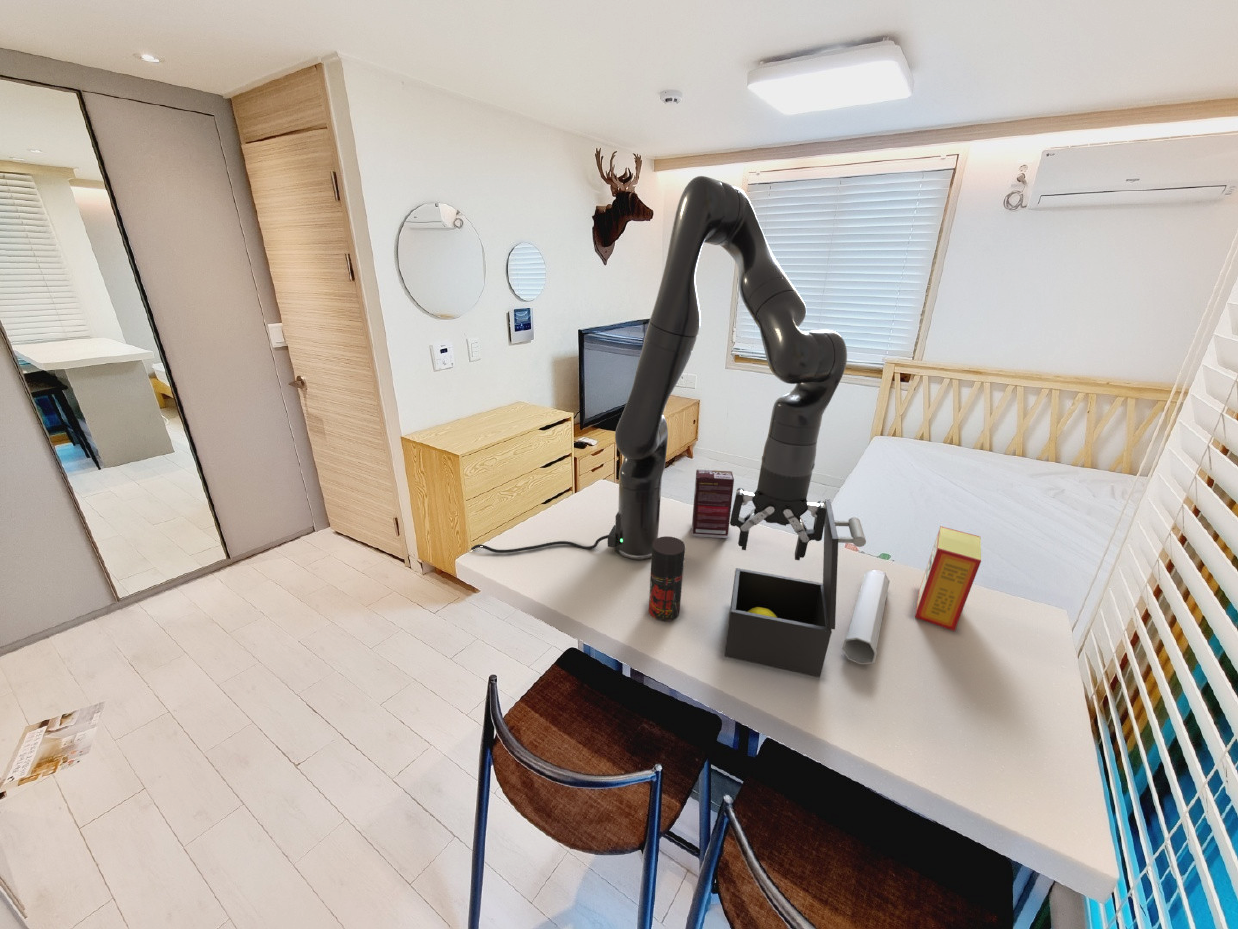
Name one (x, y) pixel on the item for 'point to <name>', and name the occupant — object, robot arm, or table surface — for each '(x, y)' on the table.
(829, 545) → the lid
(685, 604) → the table surface
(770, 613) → the lemon
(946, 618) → the baking soda box
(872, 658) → the tube
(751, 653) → the dark grey box
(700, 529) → the supplement box
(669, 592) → the deodorant
